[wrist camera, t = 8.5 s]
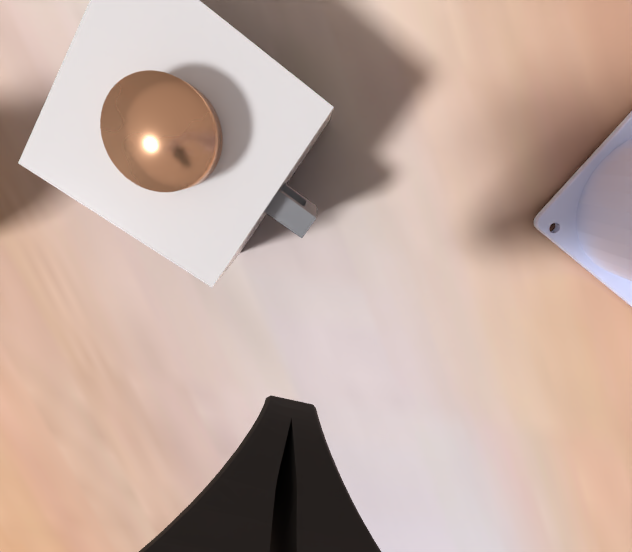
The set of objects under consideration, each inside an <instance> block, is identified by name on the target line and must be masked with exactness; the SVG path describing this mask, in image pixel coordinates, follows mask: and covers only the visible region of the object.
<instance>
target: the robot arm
mask: <svg viewBox="0 0 632 552" xmlns="http://www.w3.org/2000/svg"><path fill="white" fill-rule="evenodd" d="M553 223H555V228H554V230H552V231H550V230H549V227H550V226H551V224H553ZM534 226H535V228H536V229H537V230H539V231H540V232H541V233H542V234H543V235H545V236H546V237H547V238H548V239H549V240H551V241H552V242H553V243H554V244H556V245H557V246H558V247H559V248H560V249H562V250H563V251H564V252H565V253H567V254H568V255H569V256H570V257H571V258H573V259H574V260H575V261H576V262H577V263H579V264H580V265H581V266H582V267H584V268H585V269H586V270H587V271H588V272H590V273H591V274H592V275H593V276H595V277H596V278H597V279H598V280H599V281H601V282H602V283H603V284H604V285H606V286H607V287H608V288H609V289H610V290H612V291H613V292H614V293H615V294H616V295H618V296H619V297H620V298H621V299H623V300H624V301H625V302H626V303H627V304H629V305H630V306H631V307H632V111H631V112H630V113H629V114H628V115H627V116H626V118H625V119H624V120H623V121H622V122H621V123H620V124H619V125H618V126H617V127H616V129H615V130H614V131H613V132H612V133H611V134H610V135H609V136H608V137H607V138H606V140H605V141H604V142H603V143H602V144H601V145H600V146H599V147H598V148H597V149H596V150H595V152H594V153H593V154H592V155H591V156H590V157H589V158H588V159H587V160H586V161H585V163H584V164H583V165H582V166H581V167H580V168H579V169H578V170H577V171H576V172H575V173H574V175H573V176H572V177H571V178H570V179H569V180H568V181H567V182H566V183H565V184H564V186H563V187H562V188H561V189H560V190H559V191H558V192H557V193H556V194H555V195H554V196H553V198H552V199H551V200H550V201H549V202H548V203H547V204H546V205H545V206H544V207H543V209H542V210H541V211H540V212H539V213H538V214H537V215H536V217H535V218H534ZM139 552H381V551H380V549H379V547H378V546H377V544H376V543H375V541H374V539H373V538H372V536H371V534H370V533H369V531H368V529H367V527H366V526H365V524H364V522H363V520H362V519H361V517H360V515H359V513H358V511H357V509H356V507H355V505H354V504H353V502H352V500H351V498H350V495H349V493H348V491H347V489H346V487H345V485H344V483H343V481H342V479H341V476H340V474H339V472H338V470H337V467H336V465H335V462H334V460H333V458H332V455H331V453H330V450H329V448H328V445H327V442H326V440H325V437H324V434H323V431H322V428H321V425H320V422H319V418H318V415H317V411H316V408H315V407H314V405H312V404H307V403H303V402H298V401H294V400H289V399H284V398H280V397H275V396H269V397H267V398H266V400H265V404H264V406H263V408H262V410H261V412H260V414H259V416H258V418H257V420H256V421H255V423H254V425H253V427H252V428H251V430H250V431H249V433H248V434H247V436H246V437H245V438H244V440H243V441H242V443H241V444H240V446H239V447H238V449H237V450H236V451H235V453H234V454H233V455H232V456H231V458H230V459H229V460H228V461H227V463H226V464H225V465H224V467H223V468H222V469H221V470H220V472H219V473H218V474H217V475H216V476H215V477H214V479H213V480H212V481H211V482H210V483H209V484H208V485H207V487H206V488H205V489H204V490H203V491H202V492H201V493H200V494H199V495H198V496H197V497H196V498H195V499H194V501H193V502H192V503H191V504H190V505H189V506H188V507H187V508H186V509H185V510H184V511H183V512H182V513H181V514H180V515H179V516H178V517H176V518H175V519H174V520H173V521H172V522H171V523H170V524H169V525H168V526H167V527H166V528H165V529H164V530H163V531H162V532H161V533H160V534H159V535H158V536H156V537H155V538H154V539H153V540H152V541H151V542H150V543H148V544H147V545H146V546H145V547H144V548H143V549H141V550H140V551H139Z"/></svg>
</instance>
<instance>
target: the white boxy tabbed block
mask: <svg viewBox="0 0 632 552" xmlns="http://www.w3.org/2000/svg"><path fill="white" fill-rule="evenodd" d="M146 70H154V71H161V72H165V73H168V74H171V75H173V76H175V77H177V78H179V79H181V80H183V81H185V82H187V83H189V84H191V85H192V86H194V87H195V88H197V89H198V90H199V91H200V92H201V93H203V95H204V96H205V97H206V98H207V99H208V100H209V102H210V103H211V104H212V106H213V108H214V109H215V111H216V113H217V116H218V118H219V121H220V124H221V128H222V136H223V144H222V151H221V156H220V159H219V161H218V163H217V165H216V167H215V169H214V170H213V172H212V173H211V174H210V175H209V176H208V177H207V178H206V179H205V180H204V181H202V182H201V183H199V184H197V185H195V186H193V187H190V188H186V189H183V190H179V191H175V192H156V191H151V190H148V189H145V188H142V187H140V186H138V185H136V184H135V183H133V182H131V181H130V180H129V179H127V178H126V177H125V176H124V175H123V174H122V173H121V172H120V171H119V170H118V169H117V168H116V166H115V165H114V164H113V162H112V161H111V159H110V157H109V156H108V154H107V152H106V149H105V147H104V144H103V140H102V136H101V129H100V118H101V111H102V107H103V104H104V101H105V99H106V97H107V95H108V93H109V91H110V90H111V89H112V88H113V86H114V85H115V84H116V83H117V82H119V81H120V80H121V79H123V78H124V77H126V76H128V75H130V74H132V73H135V72H139V71H146ZM333 108H334V107H333V106H332V105H331V104H329V103H328V102H327V101H326V100H324V99H323V98H322V97H321V96H319V95H318V94H317V93H315V92H314V91H313V90H312V89H310V88H309V87H308V86H307V85H305V84H304V83H303V82H302V81H300V80H299V79H298V78H297V77H295V76H294V75H293V74H292V73H290V72H289V71H288V70H287V69H285V68H284V67H283V66H282V65H280V64H279V63H278V62H276V61H275V60H274V59H273V58H271V57H270V56H269V55H268V54H266V53H265V52H264V51H263V50H261V49H260V48H259V47H258V46H256V45H255V44H254V43H253V42H251V41H250V40H249V39H248V38H246V37H245V36H244V35H243V34H241V33H240V32H239V31H237V30H236V29H235V28H234V27H232V26H231V25H230V24H229V23H227V22H226V21H225V20H224V19H222V18H221V17H220V16H219V15H217V14H216V13H215V12H214V11H212V10H211V9H210V8H209V7H207V6H206V5H205V4H203V3H202V2H201V1H200V0H90V2H89V4H88V6H87V8H86V11H85V13H84V15H83V18H82V20H81V22H80V24H79V27H78V29H77V31H76V33H75V36H74V38H73V40H72V42H71V45H70V47H69V49H68V51H67V54H66V56H65V58H64V61H63V63H62V65H61V67H60V70H59V72H58V74H57V76H56V79H55V81H54V83H53V85H52V88H51V90H50V92H49V94H48V97H47V99H46V101H45V104H44V106H43V108H42V110H41V113H40V115H39V117H38V119H37V122H36V124H35V126H34V128H33V131H32V133H31V135H30V137H29V140H28V142H27V144H26V146H25V149H24V151H23V153H22V156H21V158H20V160H19V162H18V164H20V165H22V166H23V167H25V168H26V169H28V170H29V171H31V172H32V173H34V174H36V175H37V176H39V177H40V178H42V179H43V180H45V181H46V182H48V183H50V184H51V185H53V186H54V187H56V188H57V189H59V190H61V191H62V192H64V193H65V194H67V195H68V196H70V197H71V198H73V199H75V200H76V201H78V202H79V203H81V204H82V205H84V206H85V207H87V208H89V209H90V210H92V211H93V212H95V213H96V214H98V215H99V216H101V217H103V218H104V219H106V220H107V221H109V222H110V223H112V224H113V225H115V226H117V227H118V228H120V229H121V230H123V231H124V232H126V233H128V234H129V235H131V236H132V237H134V238H135V239H137V240H138V241H140V242H142V243H143V244H145V245H146V246H148V247H149V248H151V249H152V250H154V251H156V252H157V253H159V254H160V255H162V256H163V257H165V258H166V259H168V260H170V261H171V262H173V263H174V264H176V265H177V266H179V267H181V268H182V269H184V270H185V271H187V272H188V273H190V274H191V275H193V276H195V277H196V278H198V279H199V280H201V281H202V282H204V283H205V284H207V285H209V286H210V287H213V286H214V285H215V284H216V282H217V281H218V280H219V279H220V277H221V276H222V275H223V274H224V272H225V271H226V270H227V269H228V267H229V266H230V265H231V264H232V262H233V261H234V260H235V259H236V257H237V256H238V255H239V254H240V252H241V251H242V249H243V248H244V246H245V245H246V243H247V242H248V241H249V239H250V238H251V236H252V235H253V233H254V232H255V230H256V229H257V227H258V226H259V224H260V223H261V221H262V220H263V218H264V217H265V215H266V214H268V215H269V216H271V217H272V218H274V219H275V220H277V221H278V222H279V223H281V224H282V225H284V226H285V227H287V228H288V229H289V230H291V231H292V232H294V233H295V234H296V235H298V236H299V237H301V238H303V236H304V235H305V233H306V232H307V231H308V229H309V228H310V226H311V225H312V224H313V222H314V221H315V220H316V218H317V206H316V205H315V204H313V203H312V202H311V201H309V200H308V199H306V198H305V197H304V196H302V195H301V194H300V193H298V192H297V191H296V190H294V189H293V188H291V187H290V186H289V185H287V183H288V181H289V180H290V178H291V177H292V176H293V174H294V173H295V171H296V170H297V168H298V167H299V165H300V164H301V162H302V161H303V159H304V158H305V156H306V155H307V153H308V152H309V150H310V149H311V147H312V146H313V145H314V143H315V142H316V140H317V139H318V137H319V136H320V134H321V133H322V131H323V130H324V128H325V127H326V125H327V124H328V122H329V121H330V118H331V115H332V111H333Z"/></svg>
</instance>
